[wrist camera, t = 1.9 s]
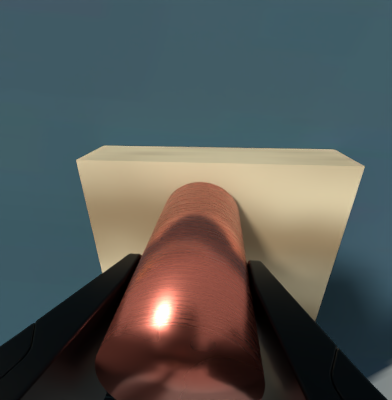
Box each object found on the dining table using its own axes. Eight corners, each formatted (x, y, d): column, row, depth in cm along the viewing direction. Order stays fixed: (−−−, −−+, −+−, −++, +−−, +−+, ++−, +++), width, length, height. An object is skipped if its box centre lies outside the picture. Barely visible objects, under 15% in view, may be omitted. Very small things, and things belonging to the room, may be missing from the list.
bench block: (276, 379, 22) (294, 472, 17) (142, 366, 23) (119, 450, 18) (334, 149, 13) (417, 195, 7) (104, 145, 14) (30, 183, 9)
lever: (227, 405, 19) (232, 572, 12) (173, 399, 19) (149, 559, 13) (250, 181, 10) (301, 335, 4) (153, 179, 11) (57, 316, 4)
